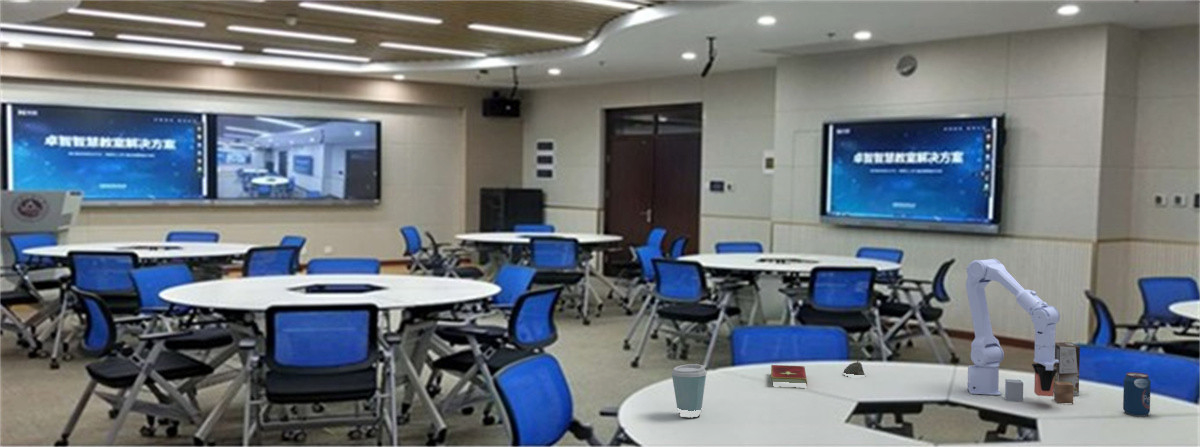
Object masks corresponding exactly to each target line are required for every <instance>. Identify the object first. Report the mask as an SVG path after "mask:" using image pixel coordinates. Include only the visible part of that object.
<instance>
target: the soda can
mask: <svg viewBox="0 0 1200 447" xmlns="http://www.w3.org/2000/svg"><path fill="white" fill-rule="evenodd" d="M1122 397H1123V399H1122V400H1123V402H1122V408H1123V411H1124V413H1125V414H1126V413H1127V414H1126V415H1128V414H1129V416H1133V417H1147V416H1148V415H1149V413H1150V412H1151V379H1150V378H1149V375H1148V374H1146V373H1143V372H1133V371H1132V372H1127V373H1126V374H1125V376H1124V377H1123V396H1122Z"/></svg>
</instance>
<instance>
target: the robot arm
mask: <svg viewBox="0 0 1200 447" xmlns="http://www.w3.org/2000/svg"><path fill="white" fill-rule="evenodd" d="M965 269H966V274H967V277H966V281H965V289H966V296H967V299H968V305H969V311H970V315H971V320H972V326H973V332H974V339H973V341H972V342H971V343H970V347H971V349H970V350H971V351H970V359H971V361H972V363H973V364H971V365H968V367H967V384H966V386H967V387H966V388H967V390H968V392H969V394H972V395H990V396H1002V393H1001V391H1000V390H999V389H1000V388H999V382H1000V381H999V378H1000V377H999V376H1000V374H999V373H1000V365H1001V364H1000V363H1001V362H1002V361H1003V360H1004V357H1005V354H1004V349H1003V348H1002V346H1001V345H1000V340H999V339H998V338H997V337H995V335H994V333H993V328H992V323H991V318H990V311H989V307H988V302H987V298H986V292H985V290H986V289H985V288H986V287H987V286H988V285H989V284H990V282H992V281H994V282H998V283H999V284H1000V285H1001V286H1002V287H1004V288H1005V289H1006V290H1007V291H1009V292H1010V293H1011V294H1013V296H1015V298H1016V300H1015V301H1016V303H1017V304H1018V305H1019V306H1020V307H1021V308H1022V309H1023V310H1024V311H1025V312H1026V313H1027V314H1029V315H1030V319H1031V322H1032V323H1033V325H1034V328H1033V329H1034V356H1033V357H1034V358H1033V362H1034V363H1031V367H1032V368H1033V369H1034V374H1035V373H1037V374H1039V377H1040V383H1041V389H1042V391H1050V388H1051V384H1052V380H1053V378H1054V376H1055V374H1056V373H1057V370H1056V369H1053V365H1054V364H1055V363H1059V360H1056V359H1055V343H1056V326H1057V325H1056V324H1058V322H1059V321H1060V317H1061V316H1060V312H1059V311H1058V309H1057V308H1056V307H1055V306H1054V305H1048V303H1047V302H1046V301H1044V300H1042V299H1041V297H1039V296H1038V295H1037V292H1036V291H1035V290H1032V289H1025V288H1024V287H1023V286H1022V285H1021V284H1020V283H1019V282H1018V281H1017V280H1016V279H1015V278H1014V277H1013V276H1012V274H1010V273H1009V272H1008V271H1007V269H1006V267H1005V265H1004V264H1002V263H1001V261H999V260H998V259H996V258H989V259H975V260H972V261H971V262H970V263H969V264H968V266H967V267H966V268H965Z"/></svg>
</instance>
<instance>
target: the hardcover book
mask: <svg viewBox="0 0 1200 447" xmlns="http://www.w3.org/2000/svg"><path fill="white" fill-rule="evenodd" d="M770 368H771V369H770V370H771V372H770V379H771V381H772V382H789V383H806V384H807V385H808V381H807V375H806V369H805V366H804V365H787V364H784V365H783V364H771V366H770ZM772 382H771V383H772Z"/></svg>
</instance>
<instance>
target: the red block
mask: <svg viewBox="0 0 1200 447" xmlns="http://www.w3.org/2000/svg"><path fill="white" fill-rule="evenodd" d="M1033 385H1034V386H1033V387H1034V388H1033V389H1034V393H1035V395H1036V396H1039V397H1054V391H1053V387H1054V378H1053V380H1052V384H1051V388H1050V391H1042V389H1041V383H1040V377H1039V374H1037V373H1035V372H1034V384H1033Z"/></svg>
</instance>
